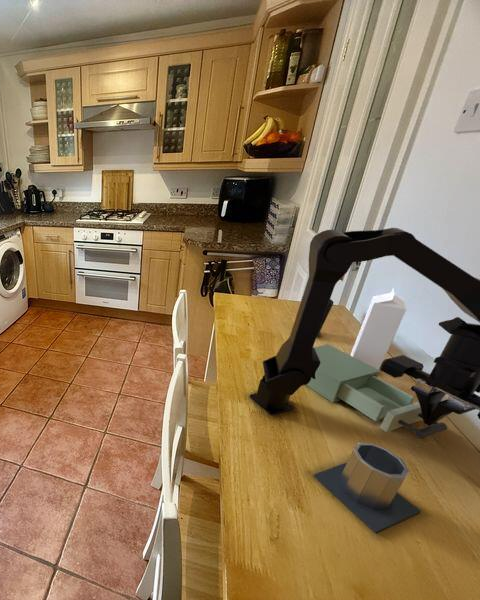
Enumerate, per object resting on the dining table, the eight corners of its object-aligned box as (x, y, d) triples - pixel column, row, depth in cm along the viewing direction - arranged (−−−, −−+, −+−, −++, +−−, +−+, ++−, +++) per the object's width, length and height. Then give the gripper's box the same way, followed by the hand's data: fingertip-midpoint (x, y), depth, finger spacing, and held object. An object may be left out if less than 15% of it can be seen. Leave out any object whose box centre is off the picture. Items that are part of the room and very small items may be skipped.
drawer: (449, 434, 64) (459, 417, 62) (411, 448, 61) (420, 431, 59) (364, 385, 78) (371, 371, 76) (330, 395, 74) (336, 380, 73)
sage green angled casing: (371, 391, 77) (380, 370, 74) (332, 402, 74) (341, 381, 71) (321, 362, 88) (327, 344, 86) (285, 371, 85) (291, 352, 82)
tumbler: (372, 515, 50) (390, 483, 47) (330, 478, 56) (344, 447, 53) (400, 503, 51) (419, 471, 48) (356, 468, 57) (371, 438, 54)
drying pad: (375, 533, 48) (376, 531, 48) (313, 476, 57) (314, 474, 56) (419, 513, 51) (421, 511, 50) (353, 461, 59) (354, 459, 59)
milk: (376, 364, 87) (410, 290, 78) (377, 375, 83) (412, 297, 74) (348, 356, 91) (377, 284, 82) (348, 366, 86) (378, 291, 78)
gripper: (578, 380, 50) (523, 452, 56) (429, 326, 66) (399, 386, 73) (538, 394, 47) (485, 468, 53) (392, 334, 63) (365, 396, 70)
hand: (427, 424), depth 62 cm, fingers closed
